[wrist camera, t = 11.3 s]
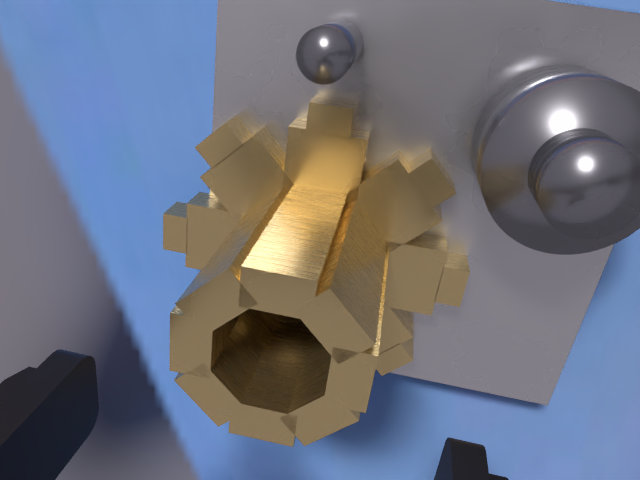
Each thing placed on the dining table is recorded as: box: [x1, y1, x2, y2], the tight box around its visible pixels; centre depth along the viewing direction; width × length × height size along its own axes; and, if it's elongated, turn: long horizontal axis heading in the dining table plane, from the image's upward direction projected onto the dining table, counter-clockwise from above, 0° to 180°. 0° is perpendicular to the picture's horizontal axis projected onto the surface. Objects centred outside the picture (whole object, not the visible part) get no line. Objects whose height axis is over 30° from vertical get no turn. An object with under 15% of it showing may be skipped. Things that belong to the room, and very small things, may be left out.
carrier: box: [210, 0, 640, 405], centre depth 17 cm, size 14×14×6 cm
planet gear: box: [163, 95, 470, 447], centre depth 16 cm, size 11×11×7 cm
